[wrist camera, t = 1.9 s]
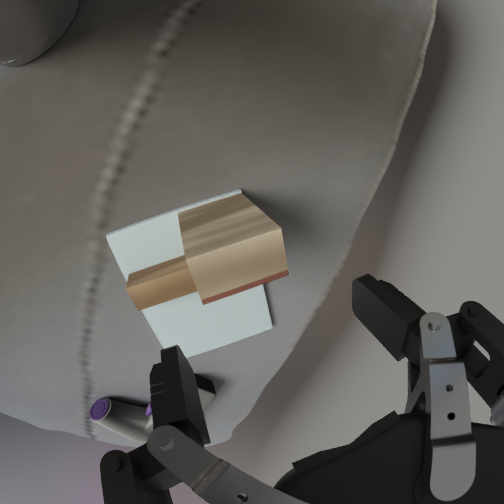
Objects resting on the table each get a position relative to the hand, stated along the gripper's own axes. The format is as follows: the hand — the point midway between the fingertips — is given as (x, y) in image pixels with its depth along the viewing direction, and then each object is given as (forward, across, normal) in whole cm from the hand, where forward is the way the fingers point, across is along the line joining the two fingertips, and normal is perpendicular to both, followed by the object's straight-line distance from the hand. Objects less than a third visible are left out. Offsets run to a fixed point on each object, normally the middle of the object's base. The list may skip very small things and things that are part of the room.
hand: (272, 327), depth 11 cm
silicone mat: (+14, +3, +6) cm, 16 cm away
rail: (+14, +5, +3) cm, 15 cm away
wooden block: (+14, 0, 0) cm, 14 cm away
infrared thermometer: (+15, +15, +20) cm, 29 cm away
